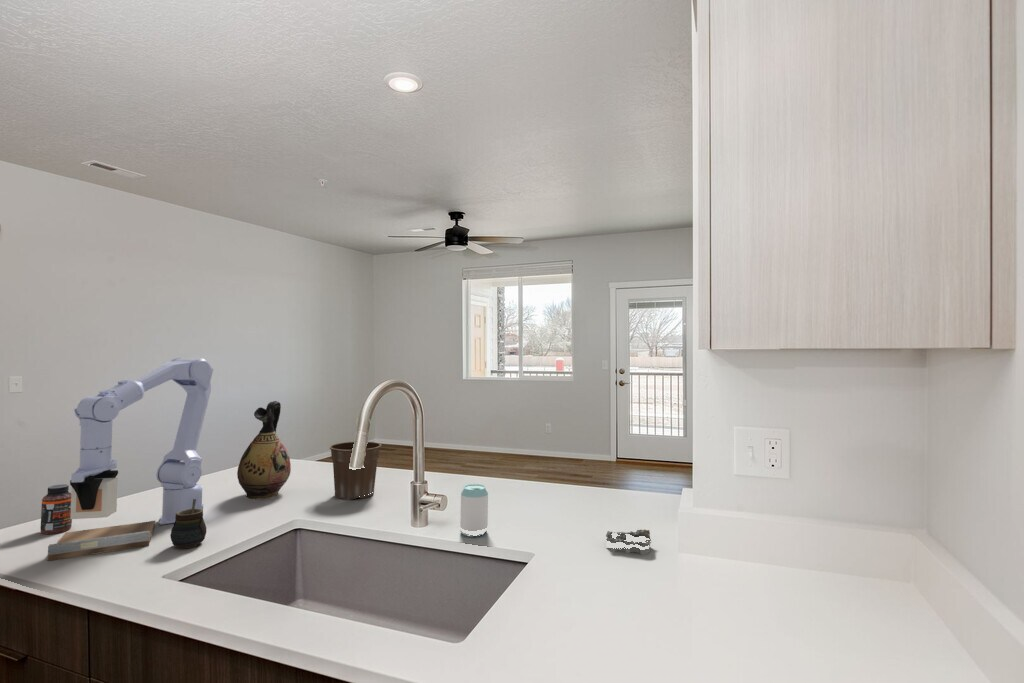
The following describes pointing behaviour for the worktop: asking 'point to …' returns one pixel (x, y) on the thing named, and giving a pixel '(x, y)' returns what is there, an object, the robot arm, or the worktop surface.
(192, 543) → the mate gourd
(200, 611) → the worktop surface
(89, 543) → the rail
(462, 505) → the can
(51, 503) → the supplement bottle
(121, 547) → the brown flat panel
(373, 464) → the plant pot
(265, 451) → the ceramic jug
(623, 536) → the egg carton
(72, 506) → the carton
